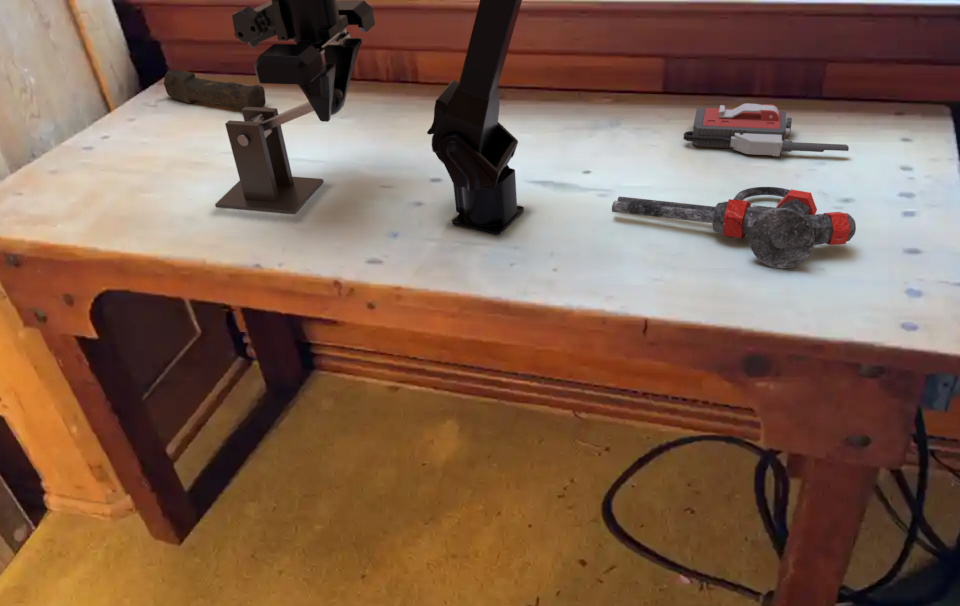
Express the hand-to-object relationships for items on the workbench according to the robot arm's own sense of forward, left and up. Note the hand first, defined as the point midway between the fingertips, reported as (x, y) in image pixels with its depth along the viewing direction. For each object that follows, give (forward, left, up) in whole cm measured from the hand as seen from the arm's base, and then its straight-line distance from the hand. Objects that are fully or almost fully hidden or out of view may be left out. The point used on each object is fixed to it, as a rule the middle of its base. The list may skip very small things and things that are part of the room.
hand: (332, 114), depth 104 cm
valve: (-43, -14, -12) cm, 47 cm away
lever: (+4, +1, -2) cm, 5 cm away
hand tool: (+40, -17, -12) cm, 46 cm away
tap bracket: (+11, +3, -12) cm, 16 cm away
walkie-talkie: (-40, -35, -12) cm, 55 cm away
